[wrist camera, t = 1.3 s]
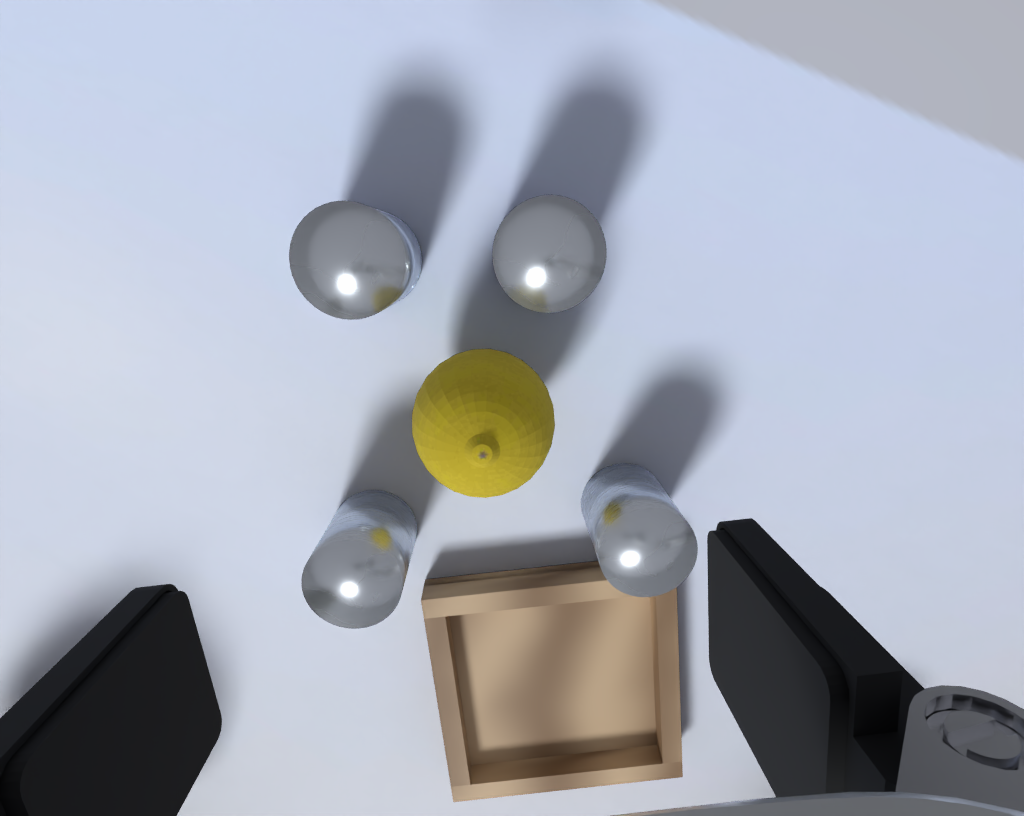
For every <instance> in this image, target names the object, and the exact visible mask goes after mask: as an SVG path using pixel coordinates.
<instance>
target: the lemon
mask: <svg viewBox="0 0 1024 816" xmlns="http://www.w3.org/2000/svg"><path fill="white" fill-rule="evenodd" d="M554 428H555V422H554V409H553V404H552V401H551V398H550V396H549V393H548V390H547V388H546V386H545V385H544V383H543V382H542V380H541V379H540V377H539V376H538V374H537V373H536V372H535V371H534V370H533V369H532V368H531V367H529V366H528V365H527V364H526V363H525V362H524V361H523V360H521V359H519V358H517V357H515V356H513V355H511V354H509V353H507V352H502V351H497V350H493V349H472V350H469V351H465V352H462V353H458V354H455V355H454V356H452V357H450V358H449V359H447V360H445V361H444V362H442V363H440V364H439V365H438V366H437V367H436V368H435V369H434V370H433V371H432V372H431V373H430V374H429V375H428V376H427V378H426V379H425V381H424V383H423V385H422V386H421V388H420V390H419V392H418V393H417V397H416V400H415V404H414V408H413V412H412V434H413V438H414V442H415V445H416V449H417V453H418V455H419V457H420V458H421V460H422V462H423V463H424V465H425V467H426V468H427V470H428V471H429V472H430V473H431V474H432V475H433V476H434V477H435V478H436V479H437V480H438V481H439V482H440V483H441V484H443V485H444V486H446V487H448V488H449V489H451V490H453V491H455V492H458V493H461V494H464V495H467V496H472V497H485V498H486V497H492V496H499V495H503V494H505V493H508V492H510V491H513V490H515V489H517V488H519V487H520V486H521V485H523V484H524V483H525V482H527V481H528V480H530V479H531V478H532V476H533V475H534V474H535V473H536V472H537V470H538V469H539V468H540V467H541V466H542V464H543V462H544V460H545V458H546V456H547V454H548V452H549V450H550V447H551V444H552V439H553V433H554Z"/></svg>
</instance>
